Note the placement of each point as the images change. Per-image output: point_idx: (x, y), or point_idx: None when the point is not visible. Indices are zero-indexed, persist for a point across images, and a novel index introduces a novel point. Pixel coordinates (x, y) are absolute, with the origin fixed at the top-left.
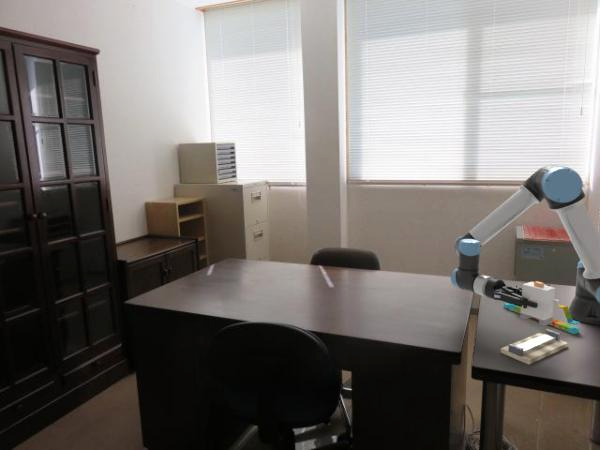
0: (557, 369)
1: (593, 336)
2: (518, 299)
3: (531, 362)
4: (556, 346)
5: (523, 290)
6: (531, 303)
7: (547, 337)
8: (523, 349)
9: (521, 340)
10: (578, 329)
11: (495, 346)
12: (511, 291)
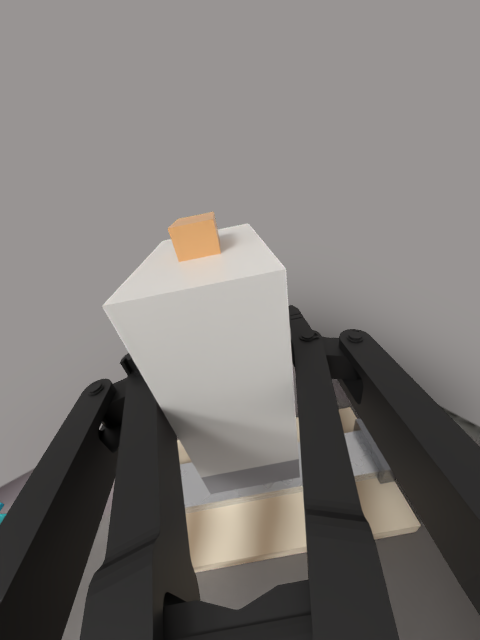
0: (294, 379)
1: (32, 471)
2: (373, 339)
3: None
4: None
5: (287, 323)
6: (302, 319)
7: (183, 481)
8: (356, 420)
9: (271, 548)
10: (2, 515)
11: (420, 621)
12: (336, 519)
